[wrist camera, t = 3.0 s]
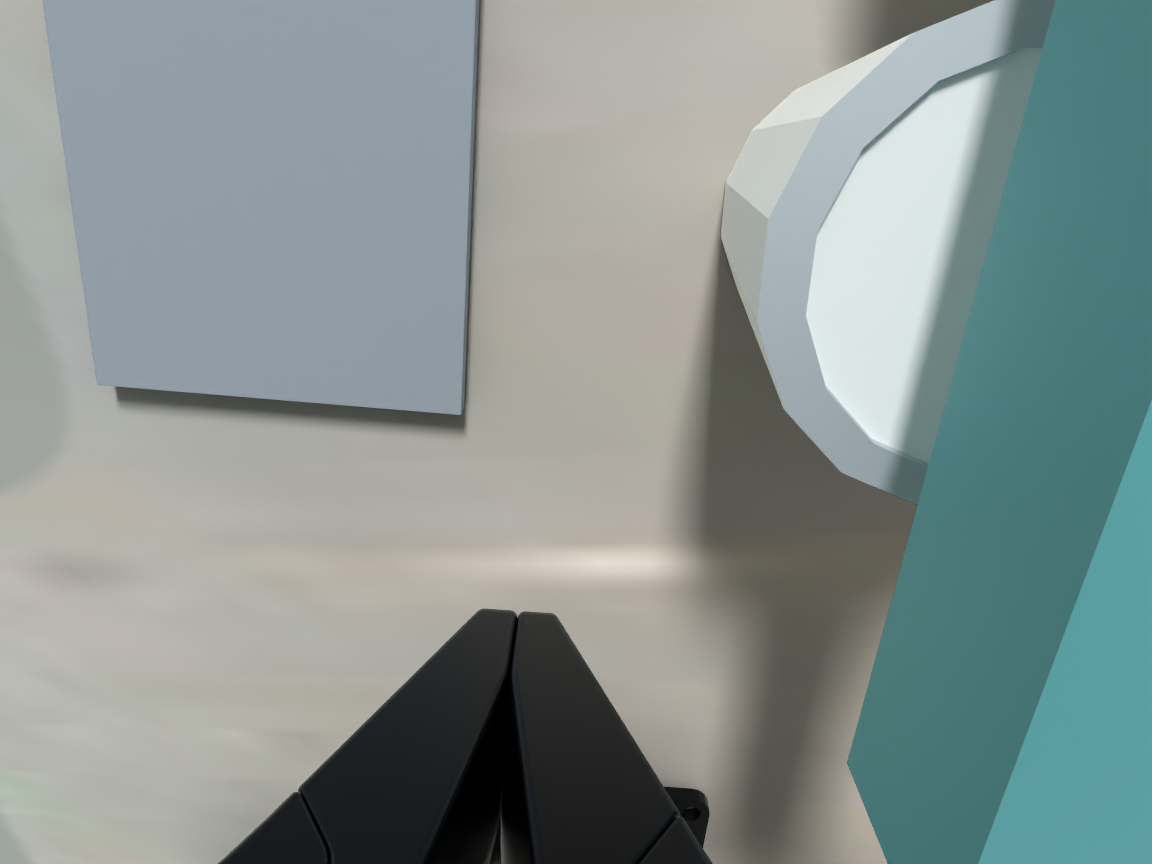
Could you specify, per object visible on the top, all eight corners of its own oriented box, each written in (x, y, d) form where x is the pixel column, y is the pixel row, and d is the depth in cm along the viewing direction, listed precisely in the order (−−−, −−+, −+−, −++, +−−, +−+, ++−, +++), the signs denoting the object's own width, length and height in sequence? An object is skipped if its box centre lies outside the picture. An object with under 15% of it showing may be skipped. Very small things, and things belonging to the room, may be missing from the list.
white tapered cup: (781, 423, 19) (888, 592, 12) (630, 159, 17) (661, 194, 10) (1069, 264, 17) (1360, 361, 11) (944, -46, 15) (1214, -158, 9)
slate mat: (464, 405, 19) (460, 414, 18) (111, 376, 18) (96, 385, 18) (488, -239, 14) (484, -253, 14) (22, -288, 14) (-1, -304, 13)
